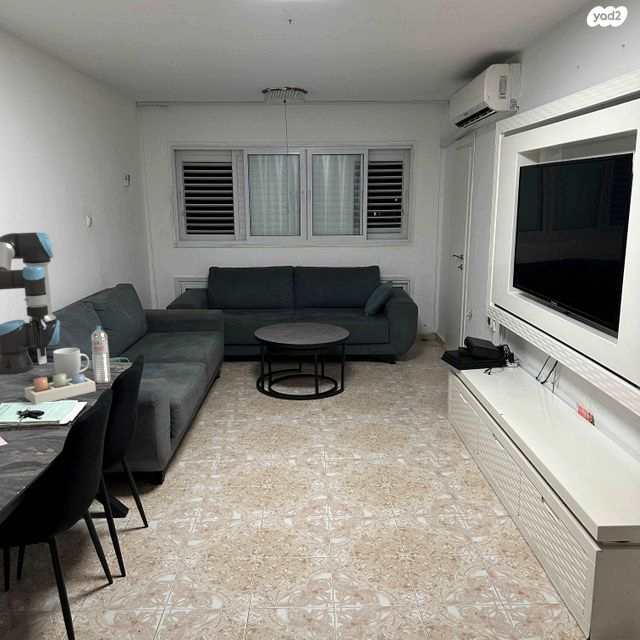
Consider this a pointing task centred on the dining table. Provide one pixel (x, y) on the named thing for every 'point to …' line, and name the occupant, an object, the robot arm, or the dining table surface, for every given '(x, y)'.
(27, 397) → the cream button tray
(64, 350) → the mug
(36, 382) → the button terracotta
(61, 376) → the button sage
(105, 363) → the water bottle
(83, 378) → the button blue
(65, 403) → the dining table surface
